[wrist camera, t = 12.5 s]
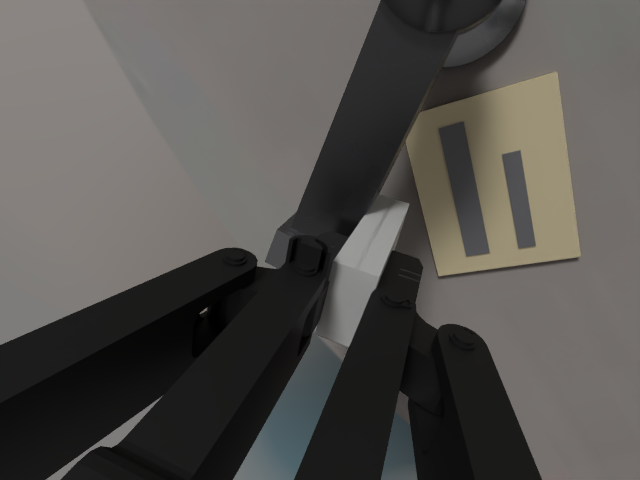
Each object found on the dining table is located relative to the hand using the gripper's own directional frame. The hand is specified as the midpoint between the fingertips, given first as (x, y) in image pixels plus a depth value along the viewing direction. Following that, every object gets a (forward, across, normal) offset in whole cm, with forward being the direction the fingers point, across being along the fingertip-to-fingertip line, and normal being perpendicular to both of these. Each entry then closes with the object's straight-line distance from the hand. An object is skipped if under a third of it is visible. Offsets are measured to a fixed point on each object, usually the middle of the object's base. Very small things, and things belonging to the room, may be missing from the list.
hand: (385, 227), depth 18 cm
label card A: (+5, -4, -2) cm, 7 cm away
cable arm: (+1, +1, -5) cm, 5 cm away
